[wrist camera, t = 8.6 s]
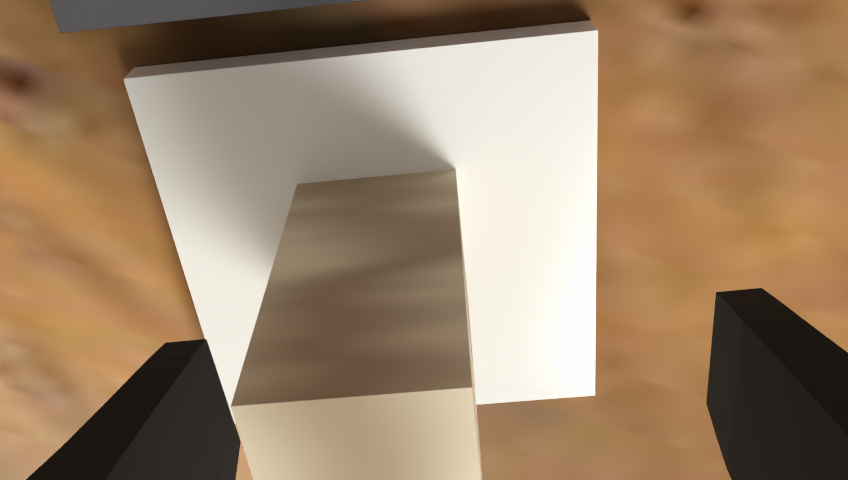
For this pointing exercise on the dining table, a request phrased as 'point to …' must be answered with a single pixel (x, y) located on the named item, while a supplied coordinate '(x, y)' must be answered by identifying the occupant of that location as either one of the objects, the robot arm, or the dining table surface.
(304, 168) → the white tile
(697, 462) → the dining table surface
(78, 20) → the hole plate
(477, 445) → the birch peg
